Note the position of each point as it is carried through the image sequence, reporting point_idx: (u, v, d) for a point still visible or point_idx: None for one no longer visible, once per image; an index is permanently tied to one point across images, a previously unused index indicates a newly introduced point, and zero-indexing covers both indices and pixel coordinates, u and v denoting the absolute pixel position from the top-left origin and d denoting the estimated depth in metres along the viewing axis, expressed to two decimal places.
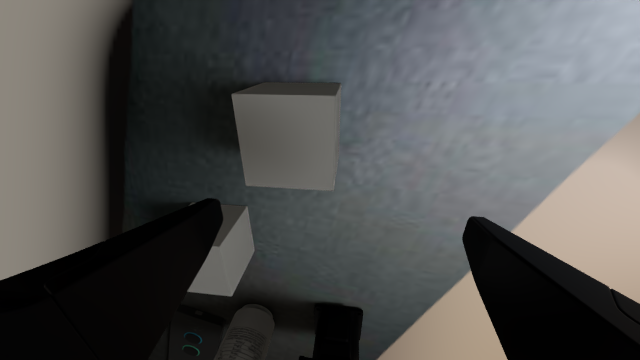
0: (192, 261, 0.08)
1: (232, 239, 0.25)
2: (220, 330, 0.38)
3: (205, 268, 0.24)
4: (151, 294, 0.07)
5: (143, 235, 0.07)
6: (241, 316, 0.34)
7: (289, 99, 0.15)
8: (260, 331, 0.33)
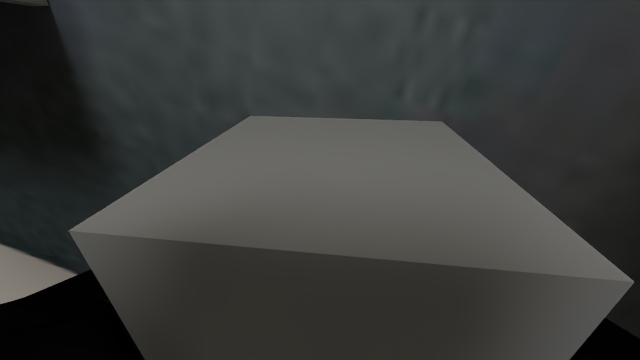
0: None
1: (227, 165, 0.05)
2: None
3: (295, 346, 0.04)
4: None
5: None
6: None
7: None
8: None
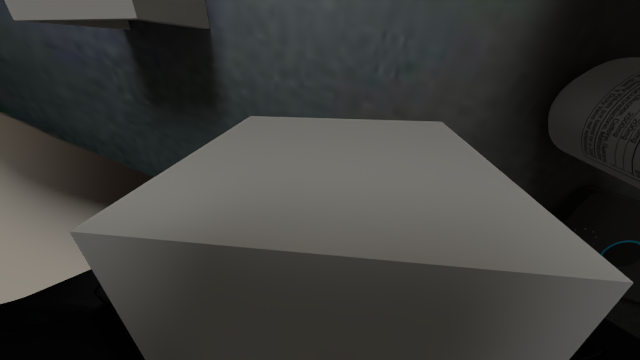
0: None
1: (227, 165, 0.05)
2: (608, 197, 0.18)
3: (295, 346, 0.04)
4: None
5: None
6: (563, 130, 0.15)
7: None
8: (621, 79, 0.13)
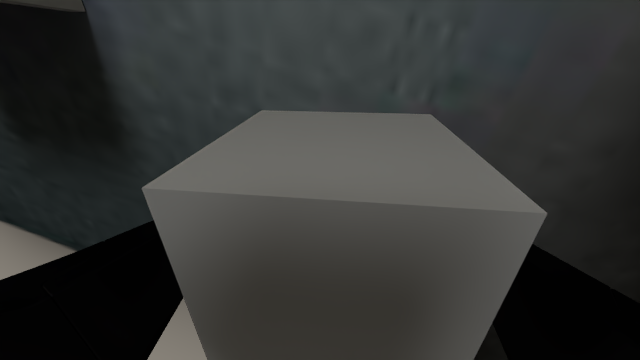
0: None
1: (249, 147, 0.06)
2: None
3: (308, 282, 0.05)
4: (150, 294, 0.07)
5: (142, 235, 0.07)
6: None
7: None
8: None
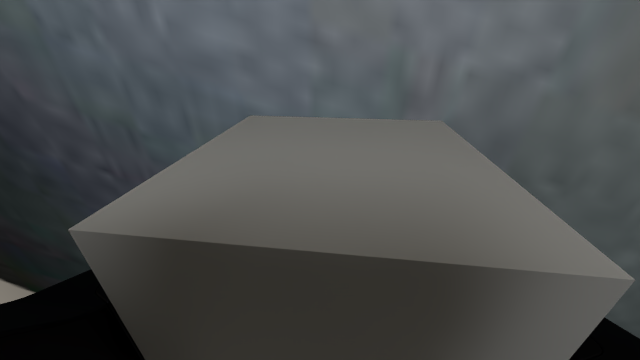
0: None
1: None
2: None
3: None
4: None
5: None
6: None
7: (153, 354, 0.05)
8: None
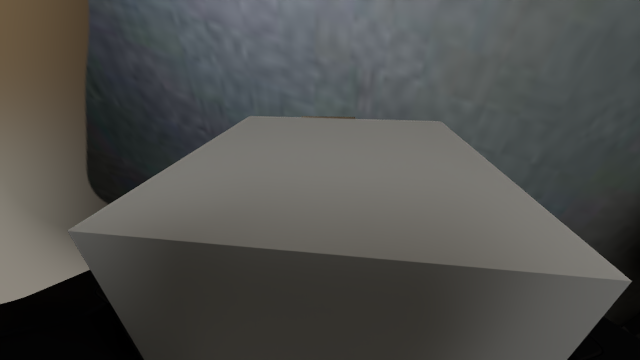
0: None
1: None
2: None
3: None
4: None
5: None
6: None
7: (152, 355, 0.05)
8: None
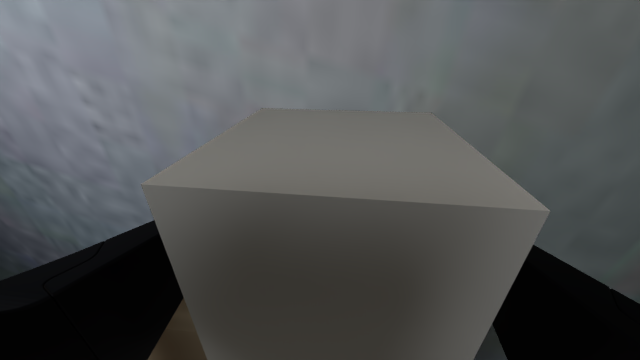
0: None
1: None
2: None
3: None
4: (151, 294, 0.07)
5: (143, 235, 0.07)
6: None
7: (193, 295, 0.06)
8: None
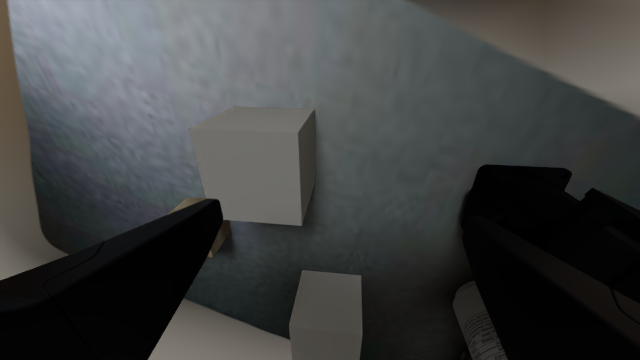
0: (192, 261, 0.08)
1: (305, 304, 0.24)
2: None
3: (321, 342, 0.23)
4: (151, 294, 0.07)
5: (143, 235, 0.07)
6: (457, 318, 0.25)
7: (203, 171, 0.16)
8: (477, 311, 0.23)
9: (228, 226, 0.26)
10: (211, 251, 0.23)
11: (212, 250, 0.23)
